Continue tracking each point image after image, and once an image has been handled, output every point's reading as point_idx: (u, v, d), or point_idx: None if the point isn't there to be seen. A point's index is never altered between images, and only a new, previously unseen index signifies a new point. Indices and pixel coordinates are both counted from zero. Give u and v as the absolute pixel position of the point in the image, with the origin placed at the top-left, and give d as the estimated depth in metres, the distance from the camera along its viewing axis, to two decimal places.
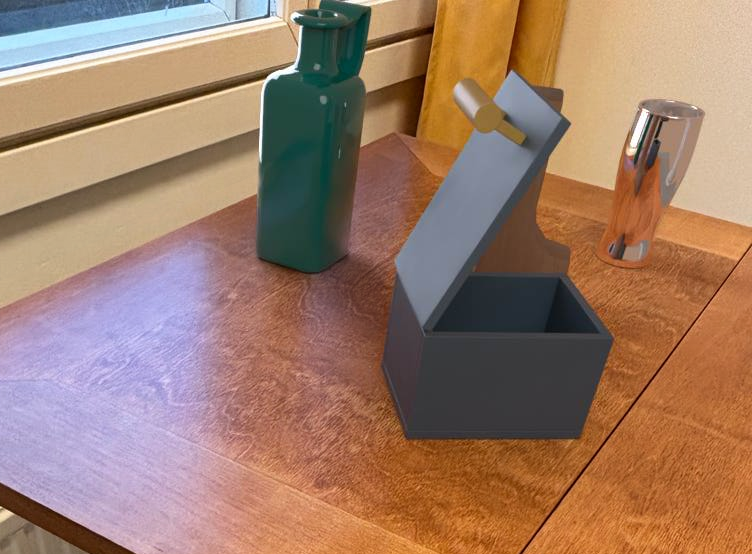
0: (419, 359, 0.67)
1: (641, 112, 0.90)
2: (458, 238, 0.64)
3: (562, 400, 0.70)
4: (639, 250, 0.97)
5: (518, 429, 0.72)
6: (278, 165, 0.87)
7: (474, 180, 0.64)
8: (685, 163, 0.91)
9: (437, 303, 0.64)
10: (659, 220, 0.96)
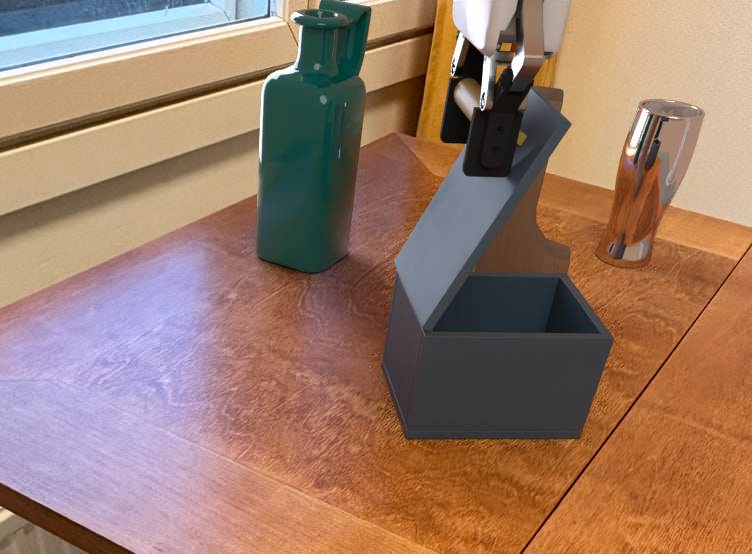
0: (419, 359, 0.67)
1: (641, 112, 0.90)
2: (458, 238, 0.64)
3: (562, 400, 0.70)
4: (639, 250, 0.97)
5: (518, 429, 0.72)
6: (278, 164, 0.87)
7: (474, 181, 0.64)
8: (685, 163, 0.91)
9: (437, 303, 0.64)
10: (659, 220, 0.96)
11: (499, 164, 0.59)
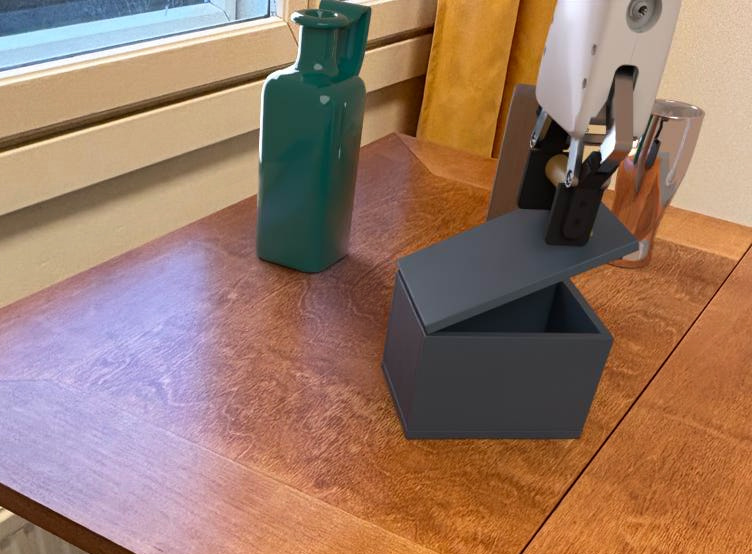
0: (419, 359, 0.67)
1: None
2: (490, 275, 0.66)
3: (562, 400, 0.70)
4: (639, 250, 0.97)
5: (518, 429, 0.72)
6: (278, 164, 0.87)
7: (519, 240, 0.67)
8: (685, 163, 0.91)
9: (450, 314, 0.64)
10: (659, 220, 0.96)
11: (579, 235, 0.62)
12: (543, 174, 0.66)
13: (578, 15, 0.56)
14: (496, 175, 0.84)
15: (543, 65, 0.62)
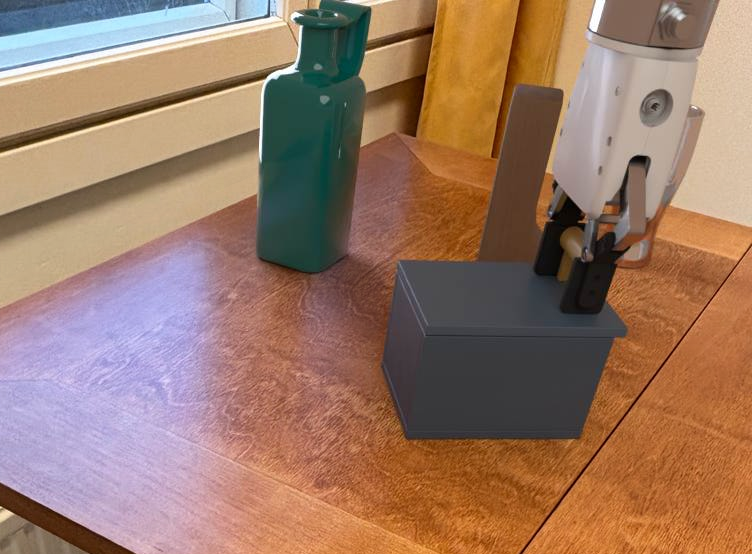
0: (419, 359, 0.67)
1: None
2: (492, 306, 0.68)
3: (562, 400, 0.70)
4: (639, 250, 0.97)
5: (518, 429, 0.72)
6: (278, 164, 0.87)
7: (520, 288, 0.70)
8: (685, 163, 0.91)
9: (452, 324, 0.65)
10: (659, 220, 0.96)
11: (594, 305, 0.66)
12: (559, 243, 0.70)
13: (594, 107, 0.60)
14: (496, 175, 0.84)
15: (560, 145, 0.66)
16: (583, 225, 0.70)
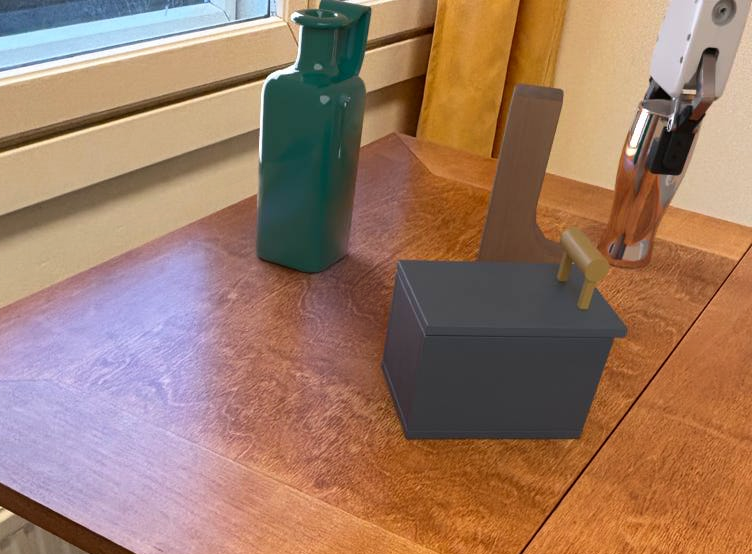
0: (419, 359, 0.67)
1: (641, 112, 0.90)
2: (492, 306, 0.68)
3: (562, 400, 0.70)
4: (639, 250, 0.97)
5: (518, 429, 0.72)
6: (278, 164, 0.87)
7: (519, 288, 0.70)
8: (685, 163, 0.91)
9: (452, 324, 0.65)
10: (659, 220, 0.96)
11: (675, 166, 0.89)
12: None
13: (680, 14, 0.84)
14: (496, 175, 0.84)
15: (656, 49, 0.89)
16: None
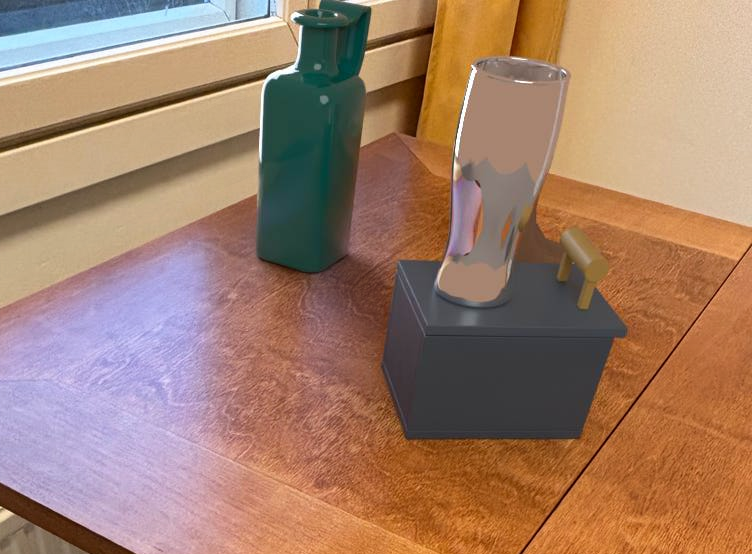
0: (419, 359, 0.67)
1: (473, 75, 0.58)
2: None
3: (562, 400, 0.70)
4: (490, 282, 0.66)
5: (518, 429, 0.72)
6: (278, 164, 0.87)
7: (519, 288, 0.70)
8: (544, 153, 0.60)
9: (452, 324, 0.65)
10: (516, 238, 0.65)
11: None
12: None
13: None
14: None
15: None
16: None
